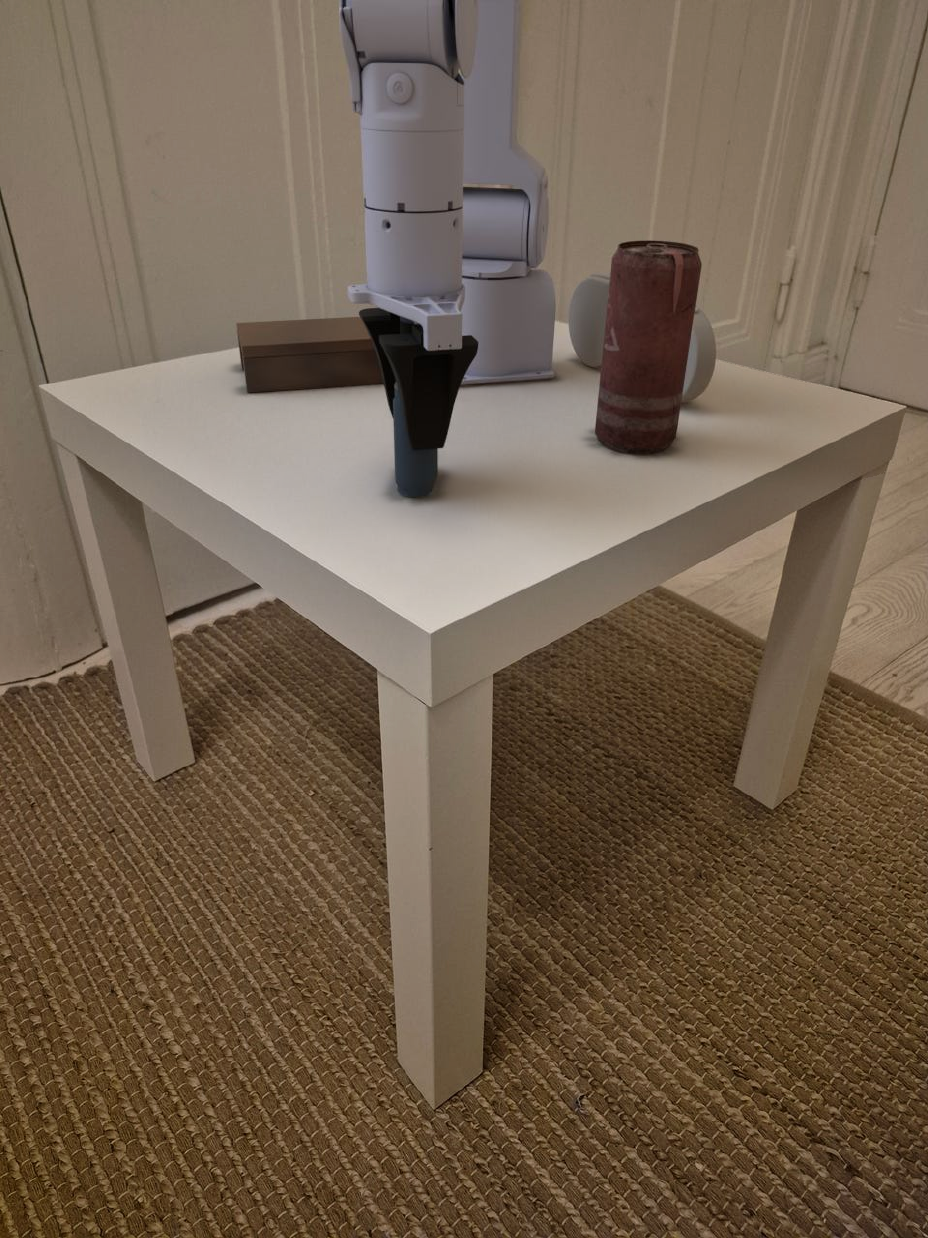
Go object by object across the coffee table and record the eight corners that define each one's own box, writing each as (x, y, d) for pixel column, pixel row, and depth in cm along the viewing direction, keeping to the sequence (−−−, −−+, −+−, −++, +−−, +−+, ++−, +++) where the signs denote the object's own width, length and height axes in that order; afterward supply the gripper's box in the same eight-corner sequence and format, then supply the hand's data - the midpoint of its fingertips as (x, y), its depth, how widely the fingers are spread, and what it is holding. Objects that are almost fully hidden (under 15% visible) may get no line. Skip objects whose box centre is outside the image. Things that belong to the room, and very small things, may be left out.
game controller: (710, 412, 74) (727, 309, 69) (688, 416, 73) (704, 312, 69) (584, 352, 89) (591, 264, 84) (564, 355, 88) (571, 266, 83)
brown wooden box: (374, 358, 86) (372, 315, 84) (391, 382, 79) (389, 337, 77) (241, 366, 83) (236, 322, 81) (247, 392, 76) (241, 346, 74)
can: (627, 462, 64) (652, 256, 57) (578, 434, 69) (595, 240, 62) (693, 449, 67) (725, 250, 59) (641, 422, 71) (665, 235, 64)
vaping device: (441, 469, 62) (441, 290, 56) (431, 500, 58) (430, 310, 52) (404, 467, 63) (401, 289, 56) (392, 497, 58) (386, 309, 52)
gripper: (326, 191, 56) (339, 401, 63) (367, 227, 44) (377, 480, 52) (434, 189, 58) (435, 394, 65) (502, 224, 46) (493, 469, 53)
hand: (416, 431), depth 58 cm, fingers closed on vaping device, 5 cm apart
